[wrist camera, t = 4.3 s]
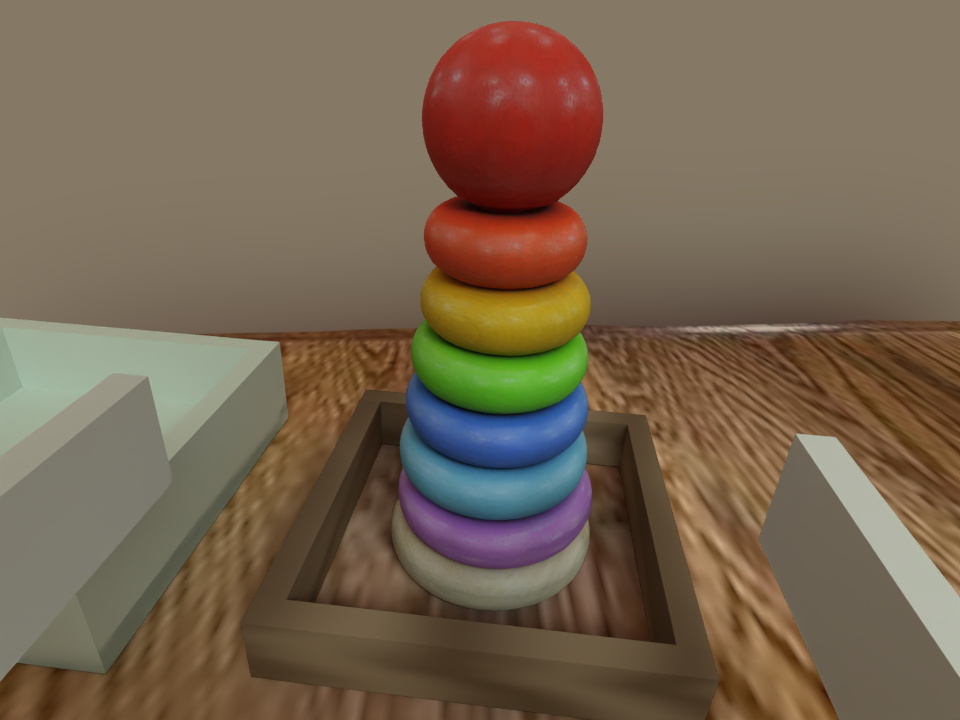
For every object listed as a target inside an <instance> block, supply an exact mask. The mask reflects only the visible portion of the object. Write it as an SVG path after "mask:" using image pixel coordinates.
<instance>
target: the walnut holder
mask: <svg viewBox="0 0 960 720" xmlns="http://www.w3.org/2000/svg"><path fill="white" fill-rule="evenodd" d="M407 419H408V413H407V409H406V393H398V392H387V391H376V390H366V391H365V392H364V394H363V396H362V398H361V400H360V402H359V404H358V405H357V407H356V409H355V411H354V413H353V415H352V417H351V418H350V420H349V422H348V424H347V426H346V428H345V430H344V431H343V433H342V435H341V437H340V439H339V441H338V443H337V444H336V446H335V448H334V450H333V452H332V454H331V456H330V457H329V459H328V461H327V463H326V465H325V467H324V469H323V471H322V472H321V474H320V476H319V478H318V480H317V482H316V484H315V485H314V487H313V489H312V491H311V493H310V495H309V497H308V498H307V500H306V502H305V504H304V506H303V508H302V510H301V511H300V513H299V515H298V517H297V519H296V521H295V523H294V524H293V526H292V528H291V530H290V532H289V534H288V536H287V537H286V539H285V541H284V543H283V545H282V547H281V549H280V550H279V552H278V554H277V556H276V558H275V560H274V562H273V563H272V565H271V567H270V569H269V571H268V573H267V575H266V576H265V578H264V580H263V582H262V584H261V586H260V588H259V589H258V591H257V593H256V595H255V597H254V599H253V601H252V602H251V604H250V606H249V608H248V610H247V612H246V614H245V615H244V617H243V619H242V621H241V628H242V633H243V638H244V643H245V648H246V653H247V658H248V663H249V668H250V673H251V677H257V678H265V679H273V680H281V681H288V682H296V683H304V684H312V685H320V686H328V687H336V688H344V689H352V690H360V691H368V692H376V693H384V694H392V695H400V696H408V697H416V698H424V699H432V700H439V701H447V702H455V703H463V704H471V705H479V706H487V707H495V708H503V709H511V710H519V711H527V712H535V713H543V714H551V715H559V716H567V717H575V718H583V719H591V720H705V719H706V716H707V713H708V710H709V708H710V705H711V702H712V699H713V697H714V694H715V691H716V688H717V686H718V683H719V677H718V674H717V670H716V666H715V663H714V659H713V656H712V652H711V648H710V645H709V641H708V638H707V634H706V631H705V627H704V623H703V620H702V616H701V613H700V609H699V605H698V602H697V598H696V595H695V591H694V587H693V584H692V580H691V577H690V573H689V570H688V566H687V562H686V559H685V555H684V552H683V548H682V544H681V541H680V537H679V534H678V530H677V526H676V523H675V519H674V516H673V512H672V508H671V505H670V501H669V498H668V494H667V491H666V487H665V483H664V480H663V476H662V473H661V469H660V465H659V462H658V458H657V455H656V451H655V447H654V444H653V440H652V437H651V433H650V430H649V426H648V422H647V419H646V415H636V414H626V413H615V412H604V411H593V410H588V416H587V420H586V424H585V426H584V428H583V430H582V431H583V433H584V436H585V438H586V443H587V462H586V463H587V464H597V465H607V466H617V467H619V468H620V473H621V479H622V484H623V490H624V495H625V501H626V506H627V512H628V518H629V523H630V529H631V534H632V540H633V545H634V551H635V556H636V562H637V568H638V573H639V579H640V584H641V590H642V595H643V601H644V606H645V612H646V618H647V623H648V629H649V634H650V640H651V642H645V641H637V640H628V639H620V638H611V637H603V636H594V635H585V634H577V633H568V632H560V631H551V630H543V629H534V628H525V627H517V626H508V625H500V624H491V623H483V622H474V621H465V620H457V619H448V618H440V617H431V616H423V615H414V614H405V613H397V612H388V611H380V610H371V609H362V608H354V607H345V606H337V605H328V604H320V603H315V601H316V599H317V596H318V594H319V591H320V589H321V587H322V584H323V582H324V580H325V577H326V575H327V573H328V570H329V568H330V565H331V563H332V561H333V558H334V556H335V554H336V551H337V549H338V547H339V544H340V542H341V539H342V537H343V535H344V532H345V530H346V528H347V525H348V523H349V520H350V518H351V516H352V513H353V511H354V509H355V506H356V504H357V502H358V499H359V497H360V494H361V492H362V490H363V487H364V485H365V483H366V480H367V478H368V475H369V473H370V471H371V468H372V466H373V464H374V461H375V459H376V457H377V454H378V452H379V449H380V447H381V445H382V443H383V444H393V445H400V439H401V433H402V430H403V427H404V425H405V423H406V421H407Z"/></svg>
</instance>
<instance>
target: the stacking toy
mask: <svg viewBox="0 0 960 720" xmlns="http://www.w3.org/2000/svg"><path fill="white" fill-rule="evenodd" d="M602 123H603V103H602V95H601V91H600V86H599V84H598V81H597V78H596V76H595V74H594V71H593V70H592V67H591V65H590V64H589V62H588V61H587V59H586V58H585V57H584V55H583V54H582V53H581V52H580V51H579V49H578V48H577V47H576V46H575V45H574V44H573V43H572V42H571V41H569V40H568V39H567V38H566V37H564V36H563V35H561V34H559V33H558V32H556V31H554V30H552V29H550V28H548V27H544V26H541V25H538V24H534V23H529V22H522V21H521V22H520V21H506V22H498V23H493V24H490V25H486V26H483V27H480V28H478V29H476V30H473V31H472V32H470V33H469V34H467V35H465V36H464V37H462V38H461V39H459V40H458V41H457V42H456V43H455V44H454V45H453V46H452V47H451V48H450V49H449V50H448V51H447V52H446V53H445V54H444V55H443V56H442V58H441V59H440V61H439V62H438V64H437V65H436V67H435V69H434V71H433V73H432V75H431V77H430V79H429V82H428V86H427V88H426V92H425V96H424V101H423V110H422V126H423V135H424V140H425V145H426V148H427V152H428V154H429V157H430V159H431V161H432V163H433V165H434V167H435V169H436V171H437V172H438V174H439V176H440V177H441V178H442V180H443V181H444V182H445V183H446V185H447V186H448V187H449V188H450V189H451V190H452V191H453V192H454V193H455V194H456V195H457V197H454V198H451V199H449V200H447V201H445V202H443V203H441V204H440V205H439V206H437V207H436V208H435V209H434V210H433V211H432V213H431V214H430V216H429V217H428V219H427V222H426V225H425V229H424V241H425V247H426V250H427V253H428V255H429V257H430V258H431V260H432V262H433V263H434V264H435V265H436V266H437V267H436V268H435V269H434V270H432V272H431V273H430V274H429V275H428V276H427V278H426V280H425V282H424V284H423V286H422V291H421V309H422V312H423V315H424V317H425V320H424V321H423V322H422V324H421V325H420V326H419V327H418V329H417V330H416V332H415V335H414V337H413V341H412V346H411V357H412V363H413V366H414V369H415V373H414V375H413V376H412V378H411V380H410V382H409V385H408V388H407V392H406V409H407V413H408V419H407V421H406V423H405V425H404V427H403V430H402V433H401V439H400V457H401V462H402V465H403V469H402V471H401V474H400V478H399V485H398V496H399V498H398V500H397V502H396V505H395V507H394V511H393V515H392V522H391V533H392V540H393V545H394V548H395V552H396V554H397V556H398V558H399V560H400V562H401V564H402V566H403V567H404V569H405V570H406V571H407V573H408V574H409V575H410V576H411V577H412V578H413V579H414V580H415V581H416V582H417V583H418V584H419V585H420V586H421V587H423V588H424V589H425V590H427V591H428V592H430V593H431V594H433V595H435V596H436V597H438V598H440V599H442V600H444V601H447V602H449V603H452V604H455V605H458V606H462V607H466V608H470V609H476V610H487V611H500V610H511V609H517V608H523V607H527V606H530V605H534V604H537V603H539V602H542V601H544V600H546V599H548V598H550V597H552V596H554V595H555V594H557V593H558V592H559V591H561V590H562V589H563V588H564V587H565V586H566V585H568V584H569V583H570V582H571V581H572V579H573V578H574V577H575V576H576V574H577V573H578V571H579V570H580V568H581V566H582V564H583V562H584V559H585V557H586V554H587V550H588V547H589V539H590V529H589V522H588V517H589V514H590V510H591V505H592V488H591V482H590V478H589V476H588V473H587V471H586V469H585V466H586V462H587V443H586V438H585V436H584V433H583V431H582V430H583V428H584V426H585V424H586V420H587V416H588V400H587V395H586V392H585V389H584V387H583V385H582V383H581V381H582V379H583V377H584V375H585V372H586V369H587V364H588V350H587V346H586V343H585V340H584V338H583V336H582V334H581V333H580V332H581V330H582V329H583V328H584V326H585V324H586V323H587V320H588V318H589V315H590V310H591V298H590V295H589V292H588V289H587V287H586V285H585V283H584V282H583V280H582V279H581V278H580V277H579V276H578V275H577V274H576V273H575V272H574V270H575V269H576V267H577V266H578V265H579V263H580V262H581V261H582V258H583V257H584V254H585V250H586V246H587V231H586V228H585V225H584V223H583V221H582V219H581V218H580V216H579V215H578V214H577V213H576V212H575V211H574V210H573V209H571V208H570V207H569V206H567V205H565V204H563V203H561V202H558V200H559V199H560V198H561V197H563V196H564V195H565V194H566V193H568V192H569V191H570V190H571V189H572V188H573V187H574V186H575V185H576V184H577V183H578V182H579V181H580V179H581V178H582V177H583V175H584V174H585V172H586V171H587V169H588V168H589V166H590V164H591V162H592V160H593V159H594V157H595V154H596V150H597V147H598V145H599V142H600V137H601V131H602Z"/></svg>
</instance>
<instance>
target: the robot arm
mask: <svg viewBox="0 0 960 720" xmlns="http://www.w3.org/2000/svg"><path fill="white" fill-rule="evenodd" d="M172 482H173V478H172V474H171V470H170V466H169V462H168V457H167V453H166V449H165V445H164V441H163V436H162V432H161V428H160V424H159V420H158V416H157V411H156V407H155V403H154V399H153V395H152V390H151V386H150V382H149V378H148V376H140V375H129V374H118V373H112V374H111V375H110V376H108V377H107V378H105V379H104V380H103V381H101V382H100V383H99V384H97V385H96V386H95V387H93V388H92V389H91V390H89V391H88V392H87V393H85V394H84V395H83V396H81V397H80V398H78V399H77V400H76V401H74V402H73V403H72V404H70V405H69V406H68V407H66V408H65V409H64V410H62V411H61V412H60V413H58V414H57V415H56V416H54V417H53V418H52V419H50V420H49V421H47V422H46V423H45V424H43V425H42V426H41V427H39V428H38V429H37V430H35V431H34V432H33V433H31V434H30V435H29V436H27V437H26V438H25V439H23V440H22V441H20V442H19V443H18V444H16V445H15V446H14V447H12V448H11V449H10V450H8V451H7V452H6V453H4V454H3V455H2V456H0V681H1V680H2V679H3V678H4V677H5V675H6V674H7V673H8V672H9V671H10V670H11V668H12V667H13V666H14V665H15V664H16V663H17V662H18V660H19V659H20V658H21V657H22V656H23V655H24V653H25V652H26V651H27V650H28V649H29V648H30V646H31V645H32V644H33V643H34V642H35V641H36V640H37V638H38V637H39V636H40V635H41V634H42V633H43V631H44V630H45V629H46V628H47V627H48V626H49V625H50V623H51V622H52V621H53V620H54V619H55V618H56V616H57V615H58V614H59V613H60V612H61V611H62V609H63V608H64V607H65V606H66V605H67V604H68V603H69V601H70V600H71V599H72V598H73V597H74V596H75V594H76V593H77V592H78V591H79V590H80V589H81V587H82V586H83V585H84V584H85V583H86V582H87V581H88V579H89V578H90V577H91V576H92V575H93V574H94V572H95V571H96V570H97V569H98V568H99V567H100V565H101V564H102V563H103V562H104V561H105V560H106V559H107V557H108V556H109V555H110V554H111V553H112V552H113V550H114V549H115V548H116V547H117V546H118V545H119V544H120V542H121V541H122V540H123V539H124V538H125V537H126V535H127V534H128V533H129V532H130V531H131V530H132V528H133V527H134V526H135V525H136V524H137V523H138V522H139V520H140V519H141V518H142V517H143V516H144V515H145V513H146V512H147V511H148V510H149V509H150V508H151V506H152V505H153V504H154V503H155V502H156V501H157V500H158V498H159V497H160V496H161V495H162V494H163V493H164V491H165V490H166V489H167V488H168V487H169V486H170V484H171V483H172ZM758 540H759V542H760V544H761V547H762V549H763V551H764V553H765V555H766V558H767V560H768V562H769V564H770V567H771V569H772V571H773V573H774V575H775V578H776V580H777V582H778V584H779V587H780V589H781V591H782V593H783V595H784V598H785V600H786V602H787V604H788V607H789V609H790V611H791V613H792V615H793V618H794V620H795V622H796V624H797V627H798V629H799V631H800V633H801V636H802V638H803V640H804V642H805V644H806V647H807V649H808V651H809V653H810V656H811V658H812V660H813V662H814V664H815V667H816V669H817V671H818V673H819V676H820V678H821V680H822V682H823V684H824V687H825V689H826V691H827V693H828V696H829V698H830V700H831V702H832V704H833V707H834V709H835V711H836V713H837V716H838V718H839V720H960V597H959V596H958V594H957V593H956V592H955V591H954V589H953V588H952V587H951V585H950V584H949V583H948V582H947V580H946V579H945V578H944V576H943V575H942V574H941V572H940V571H939V570H938V569H937V567H936V566H935V565H934V563H933V562H932V561H931V560H930V558H929V557H928V556H927V554H926V553H925V552H924V550H923V549H922V548H921V547H920V545H919V544H918V543H917V541H916V540H915V539H914V538H913V536H912V535H911V534H910V532H909V531H908V530H907V529H906V527H905V526H904V525H903V523H902V522H901V521H900V519H899V518H898V517H897V516H896V514H895V513H894V512H893V510H892V509H891V508H890V507H889V505H888V504H887V503H886V501H885V500H884V499H883V497H882V496H881V495H880V494H879V492H878V491H877V490H876V488H875V487H874V486H873V485H872V483H871V482H870V481H869V479H868V478H867V477H866V475H865V474H864V473H863V472H862V470H861V469H860V468H859V466H858V465H857V464H856V463H855V461H854V460H853V459H852V457H851V456H850V455H849V454H848V452H847V451H846V450H845V448H844V447H843V446H842V444H841V443H840V442H839V441H838V439H837V438H836V437H828V436H817V435H806V434H795V436H794V439H793V442H792V445H791V448H790V450H789V453H788V456H787V459H786V462H785V465H784V468H783V470H782V473H781V476H780V479H779V482H778V485H777V488H776V490H775V493H774V496H773V499H772V502H771V505H770V508H769V510H768V513H767V516H766V519H765V522H764V525H763V527H762V530H761V533H760V536H759V539H758Z"/></svg>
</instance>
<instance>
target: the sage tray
mask: <svg viewBox="0 0 960 720" xmlns="http://www.w3.org/2000/svg"><path fill="white" fill-rule="evenodd" d="M112 373H118V374H129V375H140V376H148V378H149V382H150V386H151V390H152V395H153V399H154V403H155V407H156V411H157V416H158V420H159V424H160V428H161V432H162V436H163V441H164V445H165V449H166V453H167V457H168V462H169V466H170V470H171V474H172V478H173V482H172V483H171V484H170V486H169V487H168V488H167V489H166V490H165V491H164V493H163V494H162V495H161V496H160V497H159V498H158V500H157V501H156V502H155V503H154V504H153V505H152V506H151V508H150V509H149V510H148V511H147V512H146V513H145V515H144V516H143V517H142V518H141V519H140V520H139V522H138V523H137V524H136V525H135V526H134V527H133V528H132V530H131V531H130V532H129V533H128V534H127V535H126V537H125V538H124V539H123V540H122V541H121V542H120V544H119V545H118V546H117V547H116V548H115V549H114V550H113V552H112V553H111V554H110V555H109V556H108V557H107V559H106V560H105V561H104V562H103V563H102V564H101V565H100V567H99V568H98V569H97V570H96V571H95V572H94V574H93V575H92V576H91V577H90V578H89V579H88V581H87V582H86V583H85V584H84V585H83V586H82V587H81V589H80V590H79V591H78V592H77V593H76V594H75V596H74V597H73V598H72V599H71V600H70V601H69V603H68V604H67V605H66V606H65V607H64V608H63V609H62V611H61V612H60V613H59V614H58V615H57V616H56V618H55V619H54V620H53V621H52V622H51V623H50V625H49V626H48V627H47V628H46V629H45V630H44V631H43V633H42V634H41V635H40V636H39V637H38V638H37V640H36V641H35V642H34V643H33V644H32V645H31V646H30V648H29V649H28V650H27V651H26V652H25V653H24V655H23V656H22V657H21V658H20V659H19V660H18V662H17V663H23V664H31V665H39V666H46V667H54V668H62V669H70V670H78V671H86V672H93V673H101V674H106V673H107V672H108V670H109V669H110V668H111V666H112V665H113V663H114V662H115V660H116V659H117V658H118V656H119V655H120V653H121V652H122V651H123V649H124V648H125V646H126V645H127V644H128V642H129V641H130V639H131V638H132V637H133V635H134V634H135V632H136V631H137V630H138V628H139V627H140V625H141V624H142V623H143V621H144V620H145V618H146V617H147V616H148V614H149V613H150V611H151V610H152V609H153V607H154V606H155V604H156V603H157V601H158V600H159V599H160V597H161V596H162V594H163V593H164V592H165V590H166V589H167V587H168V586H169V585H170V583H171V582H172V580H173V579H174V578H175V576H176V575H177V573H178V572H179V571H180V569H181V568H182V566H183V565H184V564H185V562H186V561H187V559H188V558H189V557H190V555H191V554H192V552H193V551H194V549H195V548H196V547H197V545H198V544H199V542H200V541H201V540H202V538H203V537H204V535H205V534H206V533H207V531H208V530H209V528H210V527H211V526H212V524H213V523H214V521H215V520H216V519H217V517H218V516H219V514H220V513H221V512H222V510H223V509H224V507H225V506H226V505H227V503H228V502H229V500H230V499H231V497H232V496H233V495H234V493H235V492H236V490H237V489H238V488H239V486H240V485H241V483H242V482H243V481H244V479H245V478H246V476H247V475H248V474H249V472H250V471H251V469H252V468H253V467H254V465H255V464H256V462H257V461H258V460H259V458H260V457H261V455H262V454H263V453H264V451H265V450H266V448H267V447H268V446H269V444H270V443H271V441H272V440H273V438H274V437H275V436H276V434H277V433H278V431H279V430H280V429H281V427H282V426H283V424H284V423H285V422H286V420H287V419H288V410H287V401H286V393H285V385H284V376H283V368H282V359H281V351H280V342H271V341H259V340H248V339H237V338H225V337H214V336H202V335H191V334H180V333H168V332H156V331H145V330H134V329H123V328H111V327H99V326H88V325H77V324H66V323H54V322H42V321H31V320H20V319H9V318H0V456H2V455H3V454H4V453H6V452H7V451H8V450H10V449H11V448H12V447H14V446H15V445H16V444H18V443H19V442H20V441H22V440H23V439H25V438H26V437H27V436H29V435H30V434H31V433H33V432H34V431H35V430H37V429H38V428H39V427H41V426H42V425H43V424H45V423H46V422H47V421H49V420H50V419H52V418H53V417H54V416H56V415H57V414H58V413H60V412H61V411H62V410H64V409H65V408H66V407H68V406H69V405H70V404H72V403H73V402H74V401H76V400H77V399H78V398H80V397H81V396H83V395H84V394H85V393H87V392H88V391H89V390H91V389H92V388H93V387H95V386H96V385H97V384H99V383H100V382H101V381H103V380H104V379H105V378H107V377H108V376H110V375H111V374H112Z"/></svg>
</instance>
